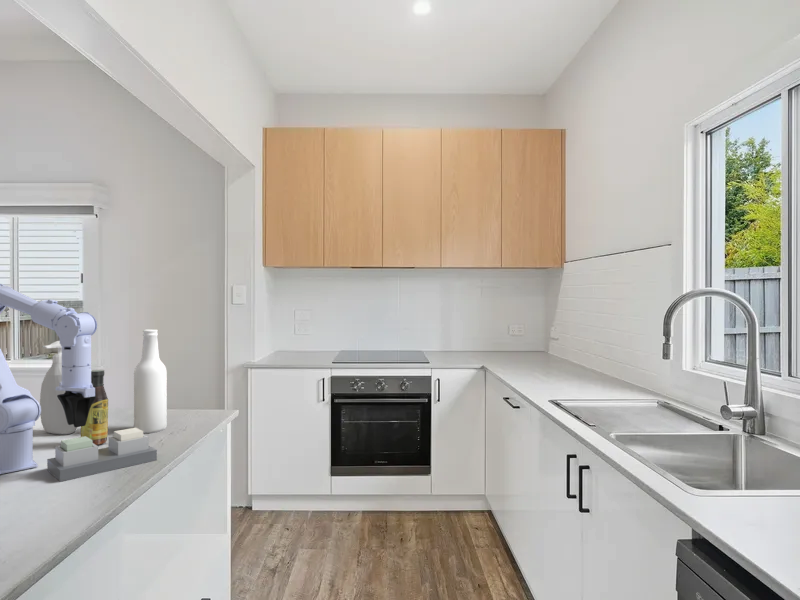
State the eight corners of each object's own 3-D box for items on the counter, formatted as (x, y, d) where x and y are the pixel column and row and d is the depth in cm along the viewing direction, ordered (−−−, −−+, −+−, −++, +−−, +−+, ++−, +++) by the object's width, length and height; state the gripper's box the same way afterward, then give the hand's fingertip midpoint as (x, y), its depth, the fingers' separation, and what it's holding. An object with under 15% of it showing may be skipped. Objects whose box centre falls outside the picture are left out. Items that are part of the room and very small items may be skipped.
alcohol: (171, 429, 152) (171, 329, 151) (140, 435, 145) (140, 331, 145) (159, 424, 158) (159, 328, 157) (129, 430, 151) (129, 329, 151)
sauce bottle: (95, 448, 133) (94, 372, 133) (74, 446, 134) (74, 371, 134) (113, 441, 140) (113, 369, 139) (94, 439, 141) (94, 368, 141)
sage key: (61, 447, 116) (60, 440, 116) (85, 443, 119) (85, 436, 119) (67, 452, 112) (67, 444, 112) (92, 447, 116) (92, 440, 116)
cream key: (113, 437, 124) (113, 431, 124) (135, 433, 127) (135, 427, 127) (121, 441, 120) (121, 435, 120) (143, 437, 124) (143, 431, 124)
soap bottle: (26, 434, 146) (25, 341, 146) (53, 427, 154) (53, 339, 154) (62, 439, 141) (61, 342, 141) (88, 432, 149) (88, 340, 149)
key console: (47, 469, 116) (47, 445, 116) (139, 450, 131) (139, 429, 131) (60, 481, 109) (60, 456, 109) (156, 460, 123) (156, 437, 123)
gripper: (44, 365, 117) (44, 423, 117) (69, 370, 108) (69, 434, 108) (78, 361, 122) (78, 418, 122) (105, 366, 114) (105, 427, 114)
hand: (76, 425), depth 116 cm, fingers open, 3 cm apart
